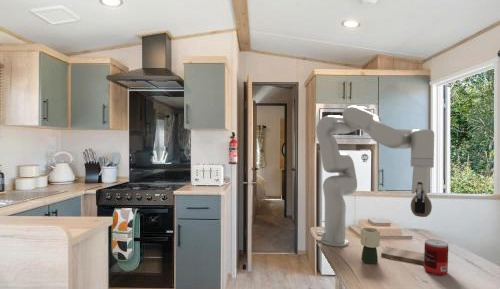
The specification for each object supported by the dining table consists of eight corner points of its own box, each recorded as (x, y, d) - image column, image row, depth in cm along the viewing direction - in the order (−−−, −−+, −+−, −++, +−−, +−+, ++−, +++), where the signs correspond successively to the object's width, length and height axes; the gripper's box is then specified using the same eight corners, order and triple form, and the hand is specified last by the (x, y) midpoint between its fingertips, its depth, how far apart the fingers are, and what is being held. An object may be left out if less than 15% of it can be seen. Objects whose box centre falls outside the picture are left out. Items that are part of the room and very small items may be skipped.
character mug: (367, 256, 137) (368, 225, 136) (384, 261, 131) (385, 229, 131) (354, 262, 129) (354, 230, 129) (371, 268, 124) (372, 234, 124)
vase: (434, 218, 116) (434, 194, 116) (413, 217, 118) (413, 193, 117) (428, 214, 123) (428, 191, 123) (408, 213, 124) (408, 190, 124)
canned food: (447, 270, 123) (448, 241, 123) (447, 277, 116) (448, 247, 116) (424, 265, 127) (425, 237, 127) (423, 272, 120) (423, 243, 120)
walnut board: (381, 256, 136) (381, 253, 136) (385, 249, 145) (385, 246, 145) (424, 264, 128) (424, 261, 128) (426, 257, 136) (426, 253, 136)
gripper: (413, 161, 129) (412, 206, 129) (407, 163, 115) (406, 214, 115) (435, 162, 125) (434, 208, 125) (431, 164, 111) (430, 217, 111)
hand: (421, 210), depth 120 cm, fingers closed on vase, 6 cm apart
